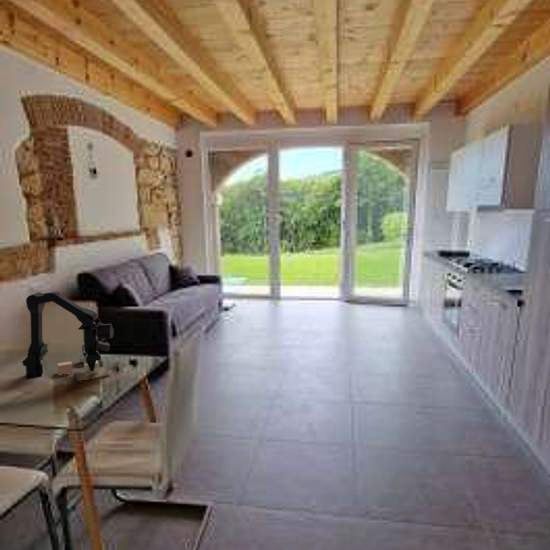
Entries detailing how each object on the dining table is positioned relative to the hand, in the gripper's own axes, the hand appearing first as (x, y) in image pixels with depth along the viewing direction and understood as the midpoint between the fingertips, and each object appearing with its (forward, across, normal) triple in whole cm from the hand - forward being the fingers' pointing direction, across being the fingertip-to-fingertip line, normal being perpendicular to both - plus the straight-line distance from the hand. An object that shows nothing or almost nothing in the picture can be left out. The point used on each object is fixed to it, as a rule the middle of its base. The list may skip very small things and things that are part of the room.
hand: (91, 369), depth 199 cm
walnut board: (+3, 0, 0) cm, 3 cm away
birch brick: (+2, 0, 0) cm, 2 cm away
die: (+3, +19, 0) cm, 19 cm away
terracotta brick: (+3, +8, +11) cm, 14 cm away
